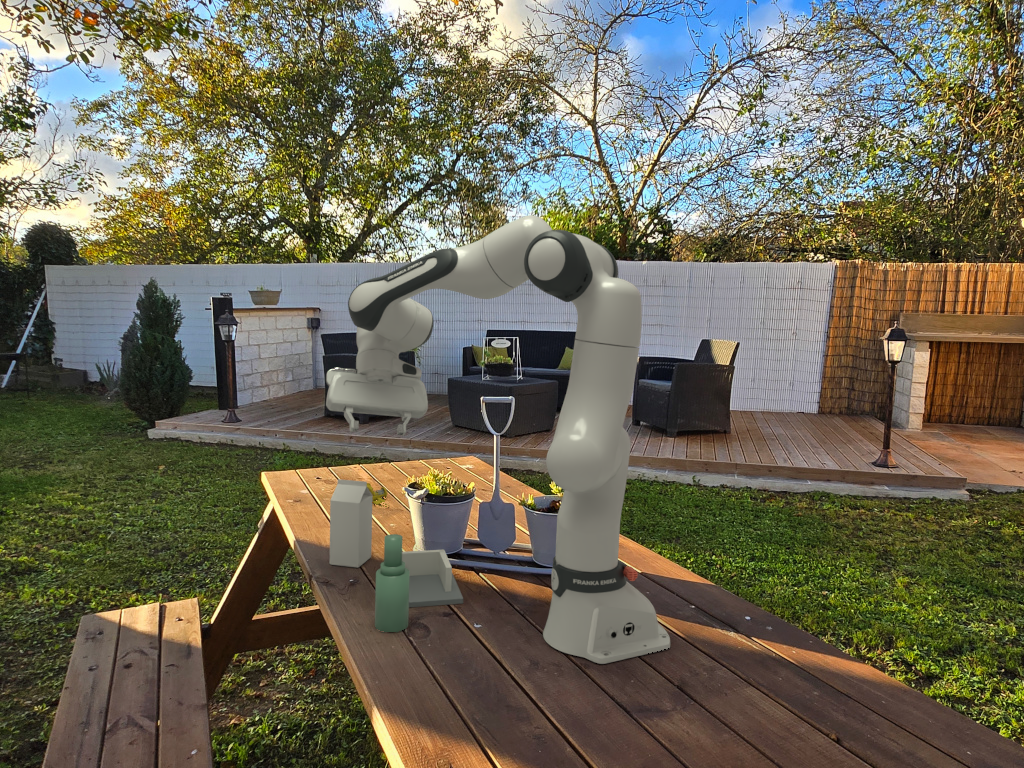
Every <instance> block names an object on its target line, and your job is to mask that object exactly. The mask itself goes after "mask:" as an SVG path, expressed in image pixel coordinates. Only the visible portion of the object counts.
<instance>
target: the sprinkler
mask: <svg viewBox="0 0 1024 768" xmlns="http://www.w3.org/2000/svg"><path fill="white" fill-rule="evenodd" d="M367 488H368V489H369V491H370V492H371V494H372V495H373V496H372V502H373V503H372V504H373V505H374V504H376V505H379V504H380V503H382V502H385V501H386V499H387V498H386V497H388V491H387V489H386V488H385V486H382V487H381V488H380V489H376V490H374V487H373V486H372V484H371V483H370V482H367ZM384 496H385V498H386V499H383V498H381V497H384ZM376 500H377V501H376ZM383 504H384V503H383ZM385 505H388V506H389V507H390V505H389V504H387V503H386V504H385ZM379 506H381V507H382V505H379ZM385 507H387V506H385Z"/></svg>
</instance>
